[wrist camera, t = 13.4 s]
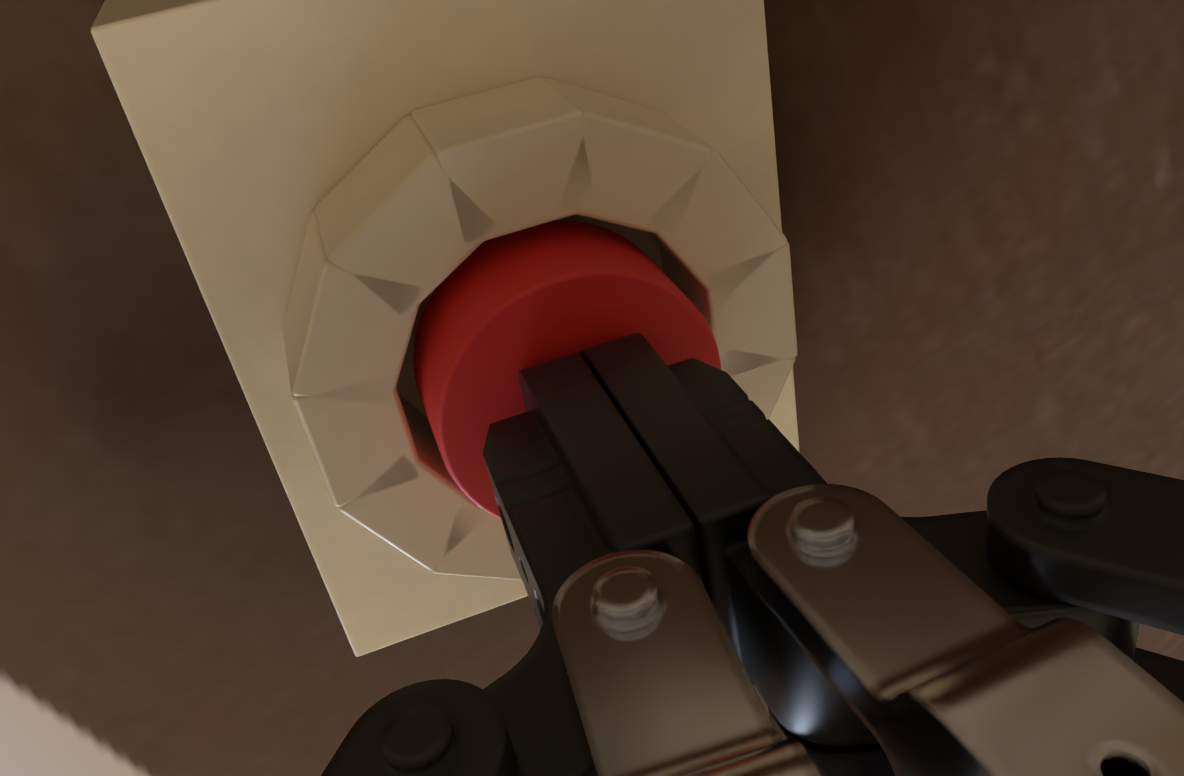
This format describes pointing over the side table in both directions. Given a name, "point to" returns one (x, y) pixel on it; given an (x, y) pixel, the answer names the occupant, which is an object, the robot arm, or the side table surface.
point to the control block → (440, 226)
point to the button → (536, 329)
